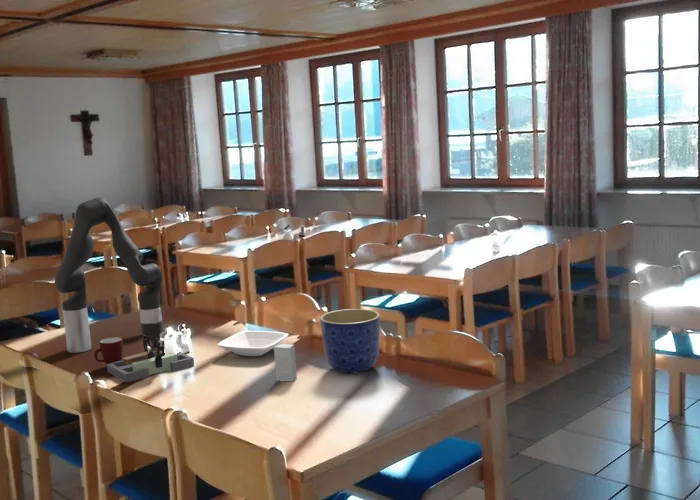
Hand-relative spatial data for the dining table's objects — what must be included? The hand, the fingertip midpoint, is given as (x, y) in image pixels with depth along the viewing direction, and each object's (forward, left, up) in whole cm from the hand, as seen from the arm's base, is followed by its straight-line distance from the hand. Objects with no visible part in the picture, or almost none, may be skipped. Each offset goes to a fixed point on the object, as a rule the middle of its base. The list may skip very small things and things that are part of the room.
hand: (155, 365), depth 295 cm
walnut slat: (-9, 0, -3) cm, 9 cm away
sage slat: (0, 0, -3) cm, 3 cm away
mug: (-18, -10, -3) cm, 21 cm away
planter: (+50, +51, -3) cm, 71 cm away
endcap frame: (-4, 0, -2) cm, 5 cm away
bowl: (+7, +37, -3) cm, 38 cm away
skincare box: (+43, +28, -3) cm, 51 cm away
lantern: (-55, +23, -3) cm, 60 cm away
